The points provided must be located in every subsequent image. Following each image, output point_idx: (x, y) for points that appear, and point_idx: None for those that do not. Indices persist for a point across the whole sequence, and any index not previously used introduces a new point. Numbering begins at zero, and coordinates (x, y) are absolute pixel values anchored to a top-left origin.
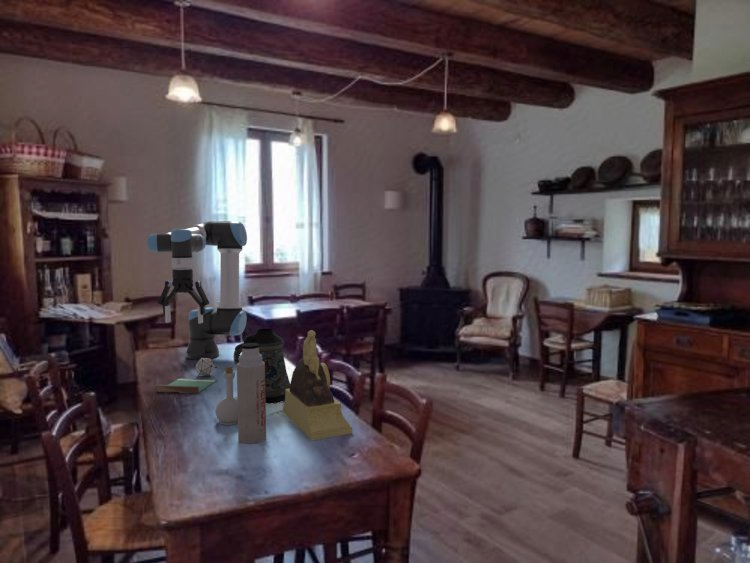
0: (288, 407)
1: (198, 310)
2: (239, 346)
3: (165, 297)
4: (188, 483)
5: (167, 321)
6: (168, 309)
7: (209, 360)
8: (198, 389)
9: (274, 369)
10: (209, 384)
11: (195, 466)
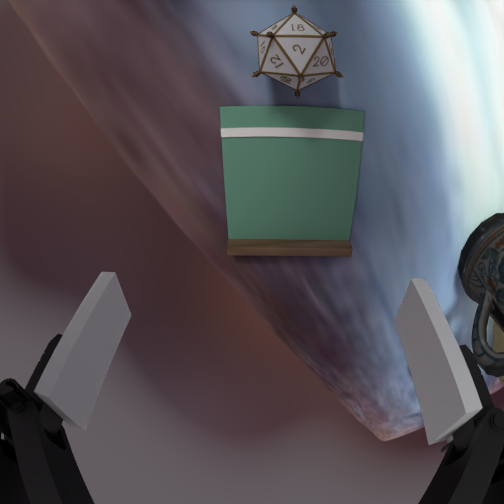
0: (499, 337)
1: (427, 413)
2: (496, 374)
3: (1, 465)
4: (391, 426)
5: (127, 319)
6: (80, 385)
7: (322, 52)
8: (350, 245)
9: None
10: (357, 171)
11: (394, 416)
